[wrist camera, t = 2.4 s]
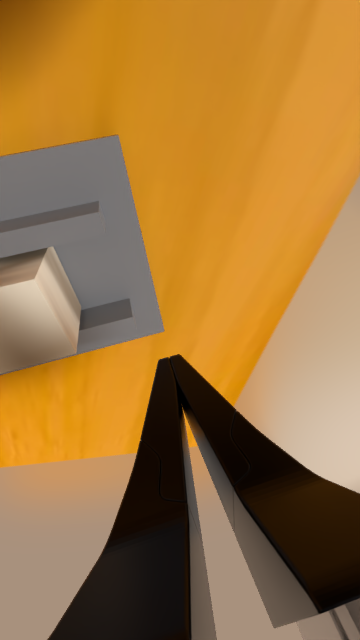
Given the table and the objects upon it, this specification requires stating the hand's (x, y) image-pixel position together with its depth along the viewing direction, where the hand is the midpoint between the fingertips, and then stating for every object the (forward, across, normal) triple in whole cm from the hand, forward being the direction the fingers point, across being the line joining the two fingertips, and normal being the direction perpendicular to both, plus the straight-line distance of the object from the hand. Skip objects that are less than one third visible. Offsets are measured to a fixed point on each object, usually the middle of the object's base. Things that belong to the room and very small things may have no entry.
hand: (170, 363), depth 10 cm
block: (+10, +8, 0) cm, 13 cm away
